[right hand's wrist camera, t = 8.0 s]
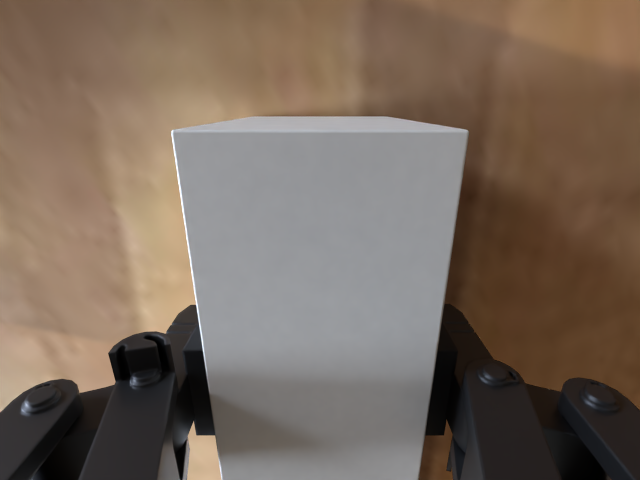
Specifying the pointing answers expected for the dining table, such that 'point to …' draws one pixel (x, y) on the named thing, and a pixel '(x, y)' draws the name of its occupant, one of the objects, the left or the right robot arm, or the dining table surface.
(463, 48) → the dining table surface
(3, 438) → the right robot arm
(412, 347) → the bar
